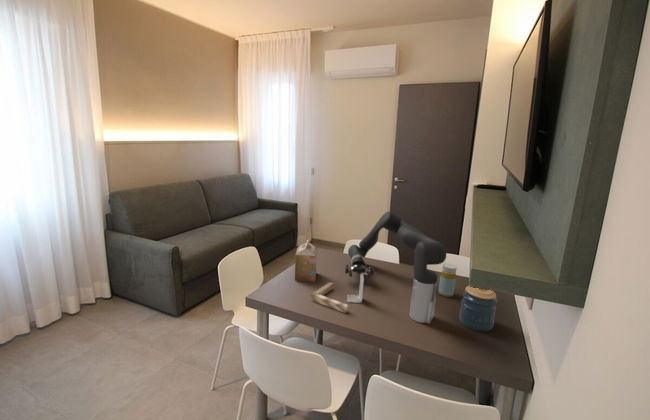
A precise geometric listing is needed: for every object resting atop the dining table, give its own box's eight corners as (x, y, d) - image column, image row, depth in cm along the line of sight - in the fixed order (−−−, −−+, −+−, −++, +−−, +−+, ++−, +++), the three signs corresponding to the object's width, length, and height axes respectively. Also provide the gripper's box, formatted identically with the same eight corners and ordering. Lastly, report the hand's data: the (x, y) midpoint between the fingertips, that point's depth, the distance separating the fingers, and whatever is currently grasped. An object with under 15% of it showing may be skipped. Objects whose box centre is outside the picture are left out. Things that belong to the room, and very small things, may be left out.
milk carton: (315, 281, 161) (316, 246, 157) (294, 280, 161) (295, 245, 157) (316, 273, 171) (317, 240, 167) (296, 271, 171) (297, 238, 167)
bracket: (361, 297, 146) (363, 274, 144) (361, 303, 141) (363, 278, 139) (347, 296, 146) (348, 273, 144) (347, 302, 141) (349, 277, 139)
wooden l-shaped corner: (362, 298, 145) (362, 292, 145) (345, 313, 132) (345, 306, 131) (329, 287, 155) (329, 281, 154) (310, 300, 142) (311, 294, 141)
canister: (497, 334, 122) (505, 293, 119) (462, 329, 125) (468, 288, 121) (487, 317, 135) (494, 279, 131) (455, 312, 137) (461, 275, 133)
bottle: (437, 295, 152) (441, 266, 149) (439, 289, 158) (443, 262, 155) (452, 299, 149) (456, 269, 146) (454, 293, 155) (458, 265, 152)
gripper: (345, 256, 168) (346, 267, 153) (372, 257, 168) (375, 269, 152) (344, 268, 170) (345, 282, 154) (371, 270, 169) (373, 284, 154)
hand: (360, 275), depth 153 cm, fingers open, 8 cm apart
